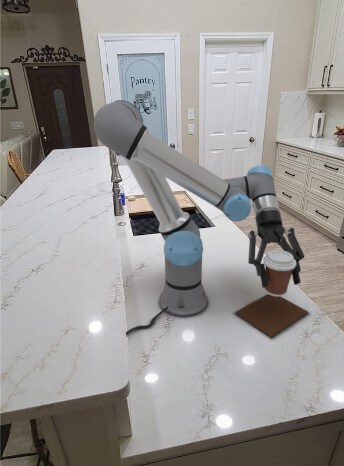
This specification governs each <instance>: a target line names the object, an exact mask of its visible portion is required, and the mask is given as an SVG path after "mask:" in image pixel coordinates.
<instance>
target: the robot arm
mask: <svg viewBox="0 0 344 466" xmlns="http://www.w3.org/2000/svg"><path fill="white" fill-rule="evenodd" d="M93 131H94V133H95V136H96V137H97V140H99V142H100V143H101V144H102V145H103V146H105V147H106V148H108V149H109V150H111V151H112V152H114V153H115V155H116V156H117V157H118V158H121V159H123V160H124V161H125V163H126V164H127V166H128V168H129V170H130V172H131V173H132V176H133V177H134V179H135V181H136V183H137V184H138V187H139V188H140V190H141V192H142V194H143V195H144V198H145V199H146V201H147V202H148V205H149V206H150V208H151V210H152V211H153V214H154V215H155V217H156V218H157V221H158V223H159V226H158V232H159V234H160V235H161V237H162V239H163V241H164V244H163V254H164V276H165V277H164V278H165V283H164V287H163V289H162V292H161V295H160V305H161V307H162V310H161V311H160V312H158V313H157V314H156V315H155V316H154V317H152V319H151V321H150V322H149V324H147V325H137V326H135V327H132V328H130V329H128V330H127V331H126V332H125V333H126V337H127V336H128V335H129V334H130V333H131V332H134V331H136V330H139V329H148V328H150V327H152V325H153V324H154V321H155V320H156V319H158V318H159V317H160V316H161V315H162V314H163V313H165V312H167V313H169V314H170V315H173V316H177V317H178V316H179V317H189V316H190V317H191V316H194V315H197V314H199V313H201V312H202V311H204V309H205V308H206V306H207V294H206V291H205V288H204V286H203V284H202V283H203V282H202V278H203V277H202V275H203V253H204V245H203V241H202V238H201V231H200V228H199V226H198V225H197V224H196V223H195V221H193V219H192V217H191V215H190V214H189V212H186V211H183V209H182V207H181V206H180V203H179V202H178V200H177V198H176V196H175V194H174V191H173V190H172V188H171V186H170V184H169V182H168V180H169V181H171V182H172V183H174V184H176V185H178V186H179V187H180V188H183V189H185V190H187V191H188V192H190V193H191V194H193V195H195V196H196V197H198V198H200V199H201V200H203V201H205V202H206V203H208V204H210V205H211V206H213V207H214V208H216V209H218V210H220V211H222V213H223V214H224V215H225V217H226V218H227V219H228V220H230V221H232V222H242V221H244V220H245V219H247V218H248V217H249V216H250V214H251V211H252V209H253V211H254V212H253V213H254V216H255V218H254V219H255V224H256V228H257V229H256V230H250V231H249V233H248V234H247V237H248V240H249V245H248V246H249V247H248V264H249V265H253V266H254V267H255V270H256V271H255V272H256V276H257V277H260V282H261V287H262V289H265V287H267V286H268V282H267V276H266V271H265V268H266V265H265V264H264V263H262V261H263V259H264V256H265V255H264V254H265V251H266V248H267V245H268V244H272V243H273V244H277V245H278V246H279V247H280V248H281V249H282V251H286V252H289V253H291V254H292V255H293V258H294V259H295V260H296V267H295V268H294V269H293V270H292V274H291V277H292V281H293V284H294V285H295V286H297V285H299V284H301V283H302V281H301V278H300V273H301V265H300V261H301V260H303V259H304V258H305V254H304V252H303V250H302V248H301V245H300V243H299V240H298V238H297V237H296V233H295V228H294V227H290V228H285V227H284V225H283V219H282V215H281V212H280V206H279V200H278V198H277V196H278V195H277V192H276V188H275V187H276V186H275V181H274V177H273V172H272V171H271V168H270V167H269V166H268V165H264V164H259V165H256V166H253V167H250V169H248V170H247V172H246V175H244V176H238V177H237V176H236V177H232V178H222V177H220V176H218V175H217V174H215V173H213V172H212V171H210V170H208V169H207V168H205V167H204V166H202V165H200V164H199V163H197V162H196V161H194V160H192V159H191V158H189V157H187V156H186V155H185V154H183V153H181V152H180V151H178V150H176V149H175V148H173V147H172V146H170V145H168V144H167V143H165V142H163V141H162V140H160V139H159V138H157V137H155V136H154V135H152V134H151V133H150V129H149V127H147V126H146V125H145V123H144V118H143V115H142V112H141V111H140V109H139V108H138V107H137V106H136V105H135V104H133V102H130V101H128V100H125V99H117V100H114V101H112V102H108V103H105V104H104V105H102V106H101V107H100V108H99V109H98V110H97V111H96V113H95V115H94V119H93ZM252 206H253V207H252ZM284 235H285V236H284ZM257 237H259V239H261V241H260V244H259V248H258V250H257V255H256V249H257V248H256V245H257ZM286 237H287V239H286ZM287 240H288V242H289V243H288V242H287Z"/></svg>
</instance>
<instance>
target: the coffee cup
mask: <svg viewBox="0 0 344 466" xmlns="http://www.w3.org/2000/svg"><path fill="white" fill-rule="evenodd" d="M263 264H264V266H265V271H266V276H267V282H268V286H267V287H264V291H265V293H266V294H267V295H268V294H269V295H272V296H277V297H278V296H280V297H284V296H286V294H287V291H288V287H289V285H290V281H291V278H292V270H293V269H294V268H295V267H296V260H295V259H294V258H293V255H292V254H291V253H289V252H286V251H284V250H283V249H282V250H280V249H275V250H272V251H269V252H268V253H267V255H264V256H263Z"/></svg>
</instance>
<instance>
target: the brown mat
mask: <svg viewBox="0 0 344 466" xmlns="http://www.w3.org/2000/svg"><path fill="white" fill-rule="evenodd" d="M234 314H235V315H236V316H238V317H239V318H241V319H243V320H244V322H246V323H248V324H249V325H251V326H253V327H254V328H256V329H257V330H258V331H260V332H262V333H263V334H265V335H266V336H267V337H269V338H271V339H272V338H274V337H275V336H276V335H278V334H280V333H281V332H283V331H284V330H286V329H287V328H289V327H290V326H292V325H293V324H295V323H297V322H298V321H299V320H301V319H302V318H304V317H306V316H307V315H308V314H309V311H307V310H306V309H304V308H302V307H301V306H298V305H297V304H295V303H293V302H292V301H289V299H288V300H287V299H286V298H284V297H283V296H278V297H277V296H272V295H269V294H268V293H267V294H266V295H264V296H262V297H260V298H259V299H257V300H254V301H253V302H251V303H249V304H248V305H245V306H243V307H241V308H240V309H238V310H235V313H234Z"/></svg>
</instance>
